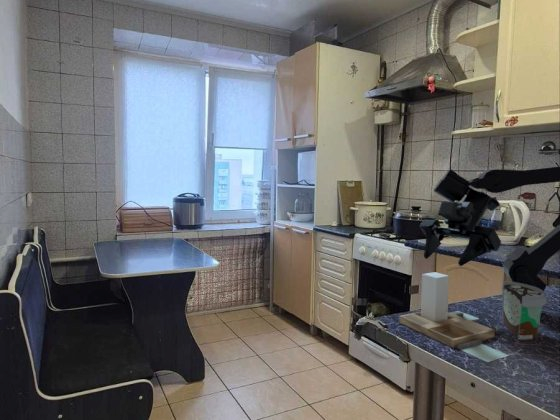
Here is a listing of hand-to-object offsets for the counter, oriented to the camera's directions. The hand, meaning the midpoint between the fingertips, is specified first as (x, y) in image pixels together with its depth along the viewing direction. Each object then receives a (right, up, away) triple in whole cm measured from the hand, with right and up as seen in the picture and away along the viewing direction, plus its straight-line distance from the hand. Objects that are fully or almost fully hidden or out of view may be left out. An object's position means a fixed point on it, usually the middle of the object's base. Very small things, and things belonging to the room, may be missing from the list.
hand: (441, 261), depth 95 cm
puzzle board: (+2, -14, -9) cm, 17 cm away
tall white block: (-3, -13, -4) cm, 14 cm away
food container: (+14, -15, -9) cm, 22 cm away
